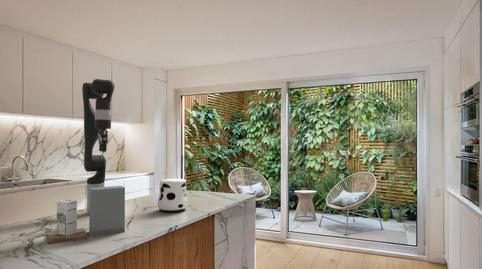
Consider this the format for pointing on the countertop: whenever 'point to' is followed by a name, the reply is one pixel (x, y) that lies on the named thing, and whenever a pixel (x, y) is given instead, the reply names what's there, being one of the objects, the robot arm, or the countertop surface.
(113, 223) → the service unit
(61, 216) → the syrup box
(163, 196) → the milk container
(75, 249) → the countertop surface
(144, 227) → the countertop surface
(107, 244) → the countertop surface
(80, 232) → the board
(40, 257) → the countertop surface
